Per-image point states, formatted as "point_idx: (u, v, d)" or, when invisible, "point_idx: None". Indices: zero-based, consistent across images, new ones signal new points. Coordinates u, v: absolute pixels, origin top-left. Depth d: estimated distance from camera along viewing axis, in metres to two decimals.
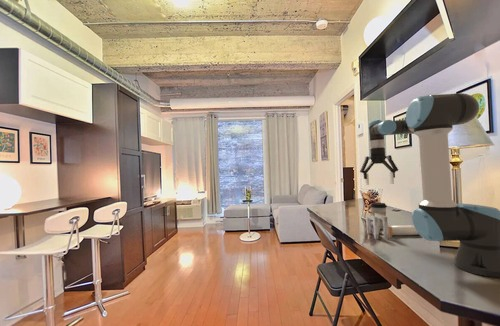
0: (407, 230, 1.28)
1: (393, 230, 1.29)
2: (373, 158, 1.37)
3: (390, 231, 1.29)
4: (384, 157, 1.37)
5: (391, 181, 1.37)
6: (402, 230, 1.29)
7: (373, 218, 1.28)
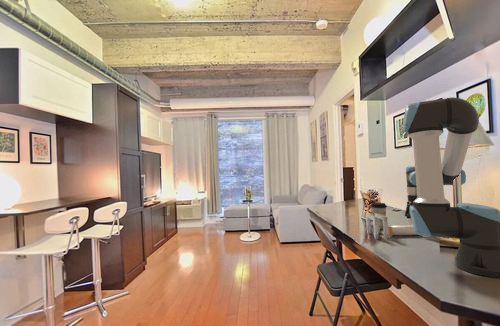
0: (407, 230, 1.28)
1: (393, 230, 1.29)
2: (411, 204, 1.34)
3: (390, 231, 1.29)
4: None
5: None
6: (402, 230, 1.29)
7: (373, 218, 1.28)
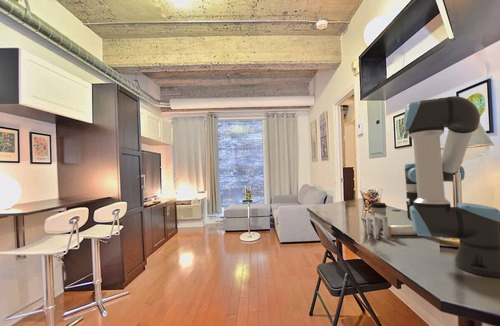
0: (406, 229, 1.28)
1: (392, 230, 1.29)
2: (410, 201, 1.33)
3: (389, 231, 1.29)
4: None
5: None
6: (401, 229, 1.29)
7: (373, 218, 1.28)
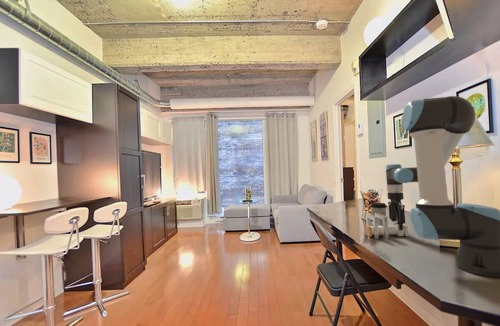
0: None
1: (372, 230, 1.30)
2: (391, 202, 1.35)
3: (369, 231, 1.30)
4: (396, 203, 1.29)
5: None
6: (382, 230, 1.30)
7: (373, 218, 1.28)
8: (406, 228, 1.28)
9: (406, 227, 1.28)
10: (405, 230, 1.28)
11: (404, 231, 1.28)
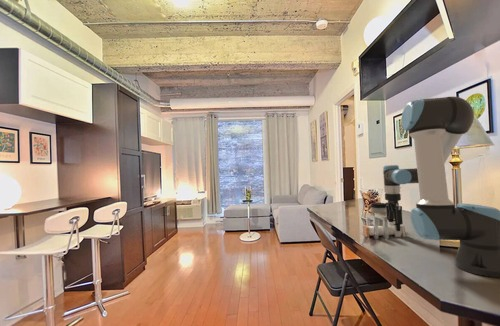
0: None
1: (370, 230, 1.30)
2: None
3: (367, 231, 1.30)
4: (393, 204, 1.29)
5: None
6: (379, 230, 1.30)
7: (373, 218, 1.28)
8: (403, 228, 1.28)
9: (403, 227, 1.28)
10: (402, 230, 1.29)
11: (401, 231, 1.29)
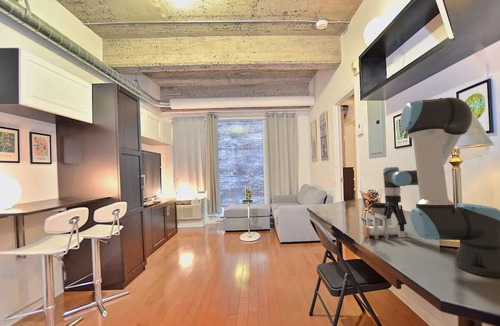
0: None
1: (370, 230, 1.30)
2: None
3: (367, 231, 1.30)
4: (394, 206, 1.29)
5: None
6: (379, 230, 1.30)
7: (373, 218, 1.28)
8: None
9: None
10: None
11: None
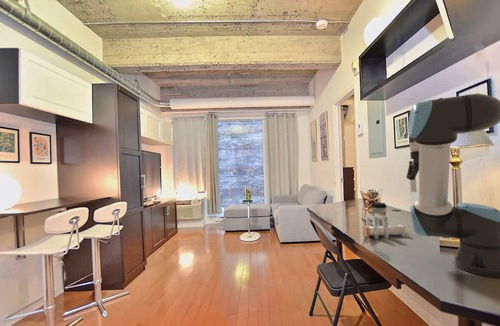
0: None
1: (370, 230, 1.30)
2: (414, 163, 1.23)
3: (367, 231, 1.30)
4: None
5: None
6: (379, 230, 1.30)
7: (373, 218, 1.28)
8: (403, 229, 1.28)
9: (403, 228, 1.28)
10: (402, 231, 1.29)
11: (401, 232, 1.29)
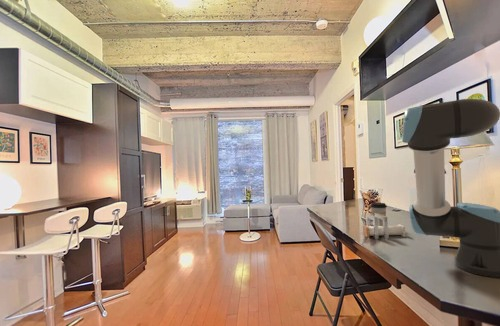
0: None
1: (370, 230, 1.30)
2: None
3: (367, 231, 1.30)
4: None
5: None
6: (379, 230, 1.30)
7: (373, 218, 1.28)
8: (403, 229, 1.28)
9: (403, 228, 1.28)
10: (402, 231, 1.29)
11: (401, 232, 1.29)
